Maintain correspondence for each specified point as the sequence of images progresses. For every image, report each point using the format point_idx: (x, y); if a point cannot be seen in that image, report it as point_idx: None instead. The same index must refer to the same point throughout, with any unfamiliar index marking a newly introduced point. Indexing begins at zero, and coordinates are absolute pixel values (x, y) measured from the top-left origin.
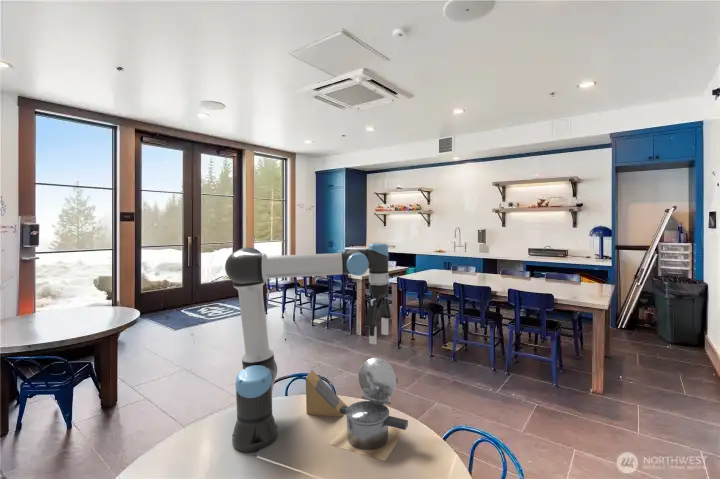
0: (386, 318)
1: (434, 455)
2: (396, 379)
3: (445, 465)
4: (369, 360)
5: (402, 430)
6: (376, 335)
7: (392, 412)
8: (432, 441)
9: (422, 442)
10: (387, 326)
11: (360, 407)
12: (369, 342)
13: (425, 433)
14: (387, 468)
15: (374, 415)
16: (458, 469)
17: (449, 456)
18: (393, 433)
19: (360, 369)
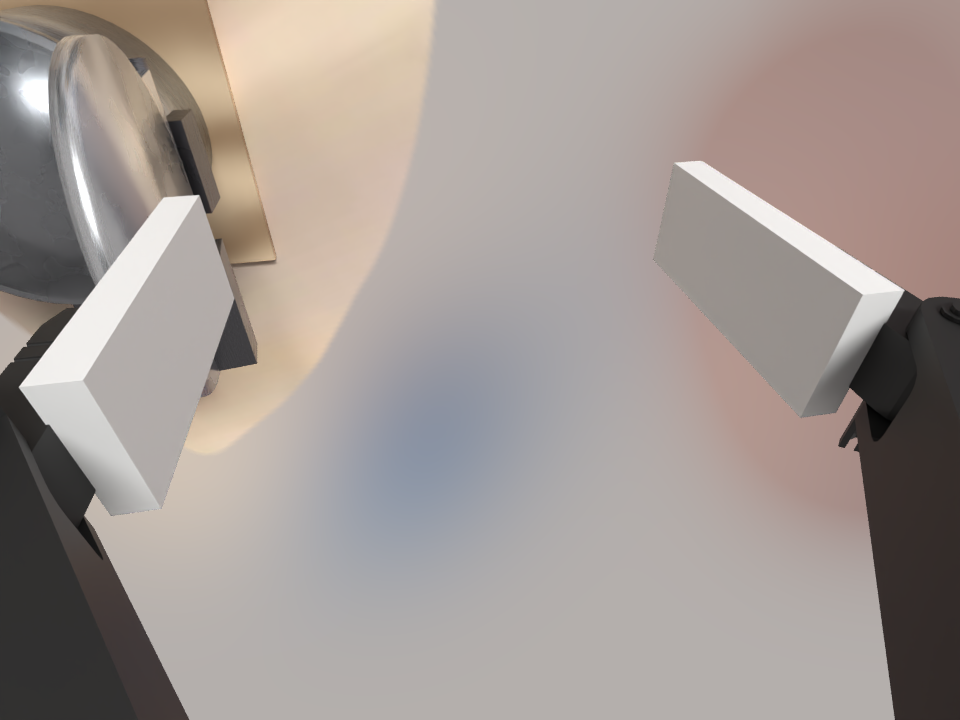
0: (850, 383)
1: (220, 389)
2: (229, 367)
3: (198, 426)
4: (76, 218)
5: (271, 253)
6: (204, 378)
7: (400, 138)
8: (291, 359)
9: (261, 336)
10: (720, 325)
11: (24, 111)
12: (159, 211)
13: (324, 325)
14: (10, 297)
15: (32, 240)
16: (209, 453)
17: (250, 421)
18: (221, 230)
19: (54, 69)
